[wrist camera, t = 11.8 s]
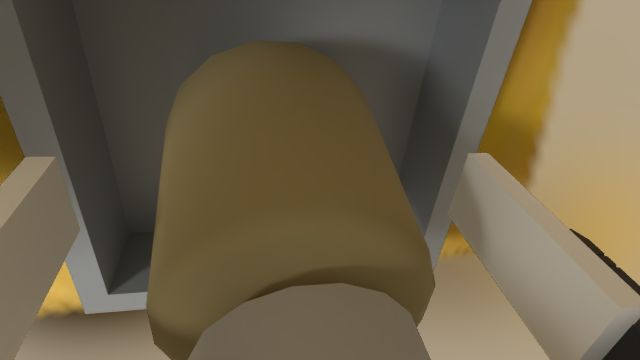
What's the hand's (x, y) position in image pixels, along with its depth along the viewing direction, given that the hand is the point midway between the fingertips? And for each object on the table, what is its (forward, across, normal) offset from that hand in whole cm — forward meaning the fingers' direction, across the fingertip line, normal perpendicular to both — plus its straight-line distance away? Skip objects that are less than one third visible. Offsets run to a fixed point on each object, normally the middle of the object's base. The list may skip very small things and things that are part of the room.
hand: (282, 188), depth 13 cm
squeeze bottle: (+7, 0, 0) cm, 7 cm away
